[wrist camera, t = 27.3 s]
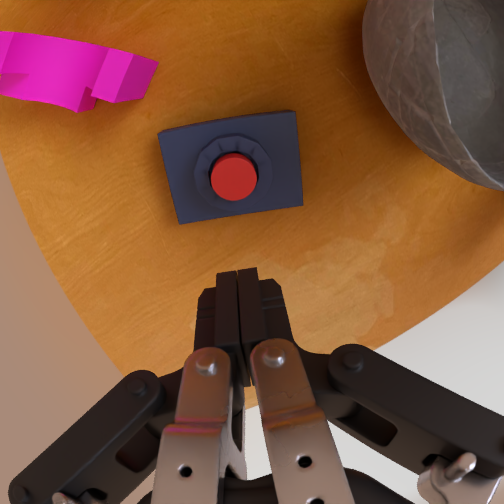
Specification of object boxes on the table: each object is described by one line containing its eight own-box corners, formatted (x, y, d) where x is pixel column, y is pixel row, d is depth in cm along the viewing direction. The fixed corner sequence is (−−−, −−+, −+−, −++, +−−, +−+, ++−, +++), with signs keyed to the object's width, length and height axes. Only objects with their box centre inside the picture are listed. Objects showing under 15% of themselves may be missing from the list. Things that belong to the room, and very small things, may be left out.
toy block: (21, 88, 20) (-23, 97, 14) (39, 35, 17) (-4, 31, 11) (133, 122, 24) (102, 135, 18) (158, 62, 22) (134, 54, 15)
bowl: (373, -54, 15) (454, -104, 2) (497, 54, 20) (587, 72, 7) (297, 88, 24) (367, 92, 11) (443, 180, 29) (530, 242, 17)
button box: (182, 215, 30) (176, 233, 26) (162, 130, 25) (152, 137, 22) (298, 197, 30) (307, 213, 26) (290, 109, 25) (300, 113, 22)
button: (216, 196, 25) (215, 203, 24) (208, 156, 24) (207, 161, 22) (257, 190, 25) (259, 197, 24) (251, 149, 23) (253, 154, 22)
